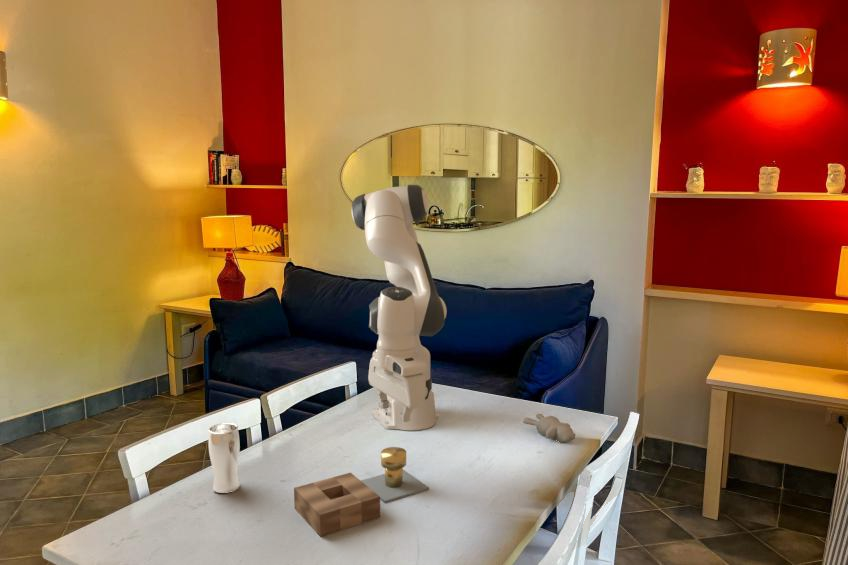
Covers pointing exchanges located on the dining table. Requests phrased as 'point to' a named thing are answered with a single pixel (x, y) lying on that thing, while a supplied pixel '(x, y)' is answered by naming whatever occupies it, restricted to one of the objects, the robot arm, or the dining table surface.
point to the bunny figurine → (552, 428)
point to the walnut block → (336, 503)
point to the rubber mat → (390, 494)
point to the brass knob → (393, 465)
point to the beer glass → (224, 456)
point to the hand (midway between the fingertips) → (394, 414)
